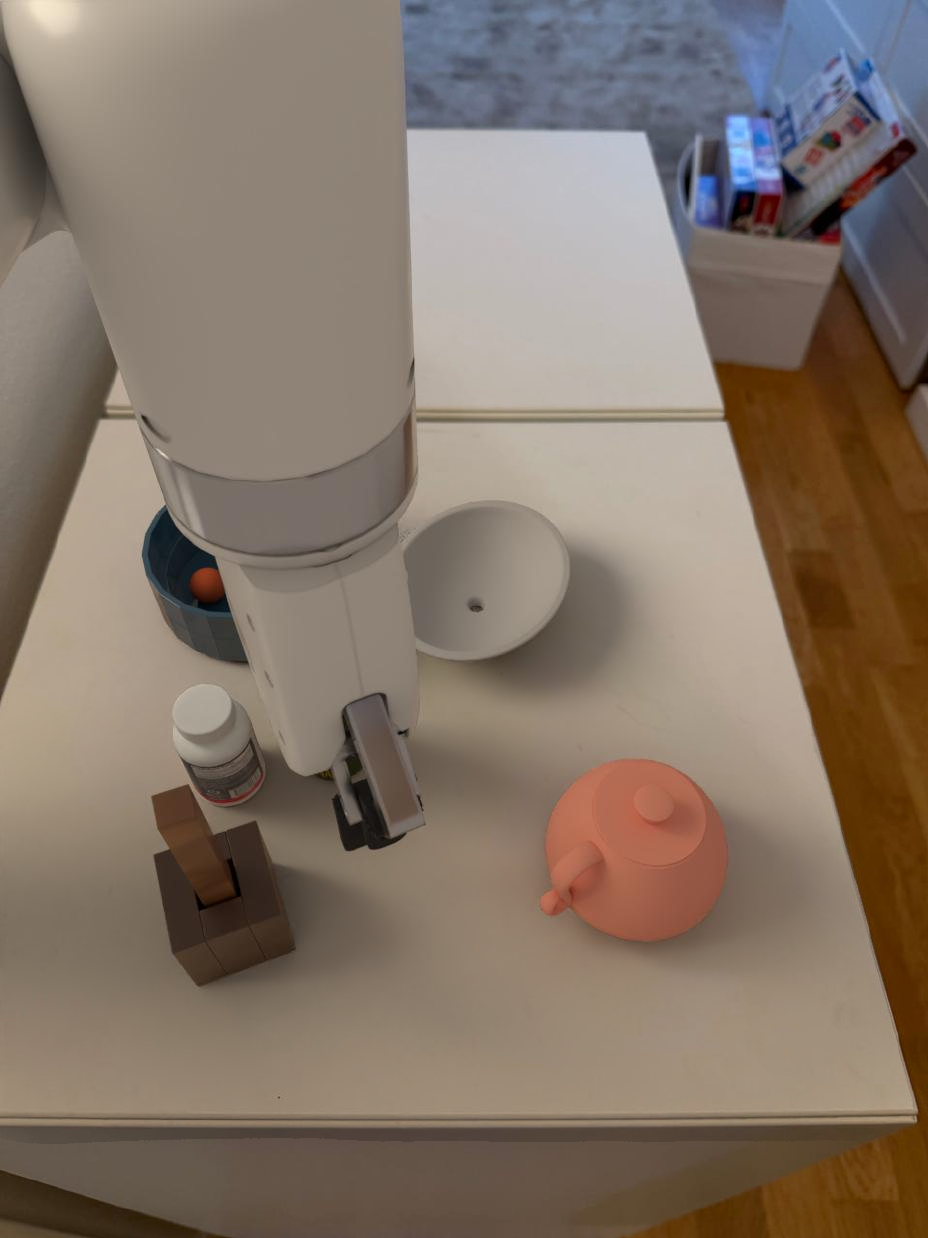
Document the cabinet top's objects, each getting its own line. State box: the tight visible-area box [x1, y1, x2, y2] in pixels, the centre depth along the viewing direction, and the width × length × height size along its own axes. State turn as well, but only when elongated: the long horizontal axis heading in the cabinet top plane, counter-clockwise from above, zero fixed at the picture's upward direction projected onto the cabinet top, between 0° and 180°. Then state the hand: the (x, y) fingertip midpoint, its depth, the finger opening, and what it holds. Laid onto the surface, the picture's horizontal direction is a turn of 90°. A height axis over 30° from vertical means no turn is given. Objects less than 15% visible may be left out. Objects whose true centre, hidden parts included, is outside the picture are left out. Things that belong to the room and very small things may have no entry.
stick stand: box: [152, 820, 297, 988], centre depth 60 cm, size 7×7×7 cm
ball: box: [189, 568, 225, 603], centre depth 77 cm, size 3×3×3 cm
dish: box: [401, 499, 572, 663], centre depth 77 cm, size 18×14×5 cm
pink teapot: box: [539, 758, 729, 942], centre depth 61 cm, size 12×14×10 cm
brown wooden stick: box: [150, 783, 241, 908], centre depth 55 cm, size 2×2×18 cm
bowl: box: [141, 503, 248, 662], centre depth 77 cm, size 16×16×6 cm
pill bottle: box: [171, 683, 267, 808], centre depth 65 cm, size 5×5×10 cm
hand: (341, 736), depth 40 cm, fingers open, 9 cm apart
